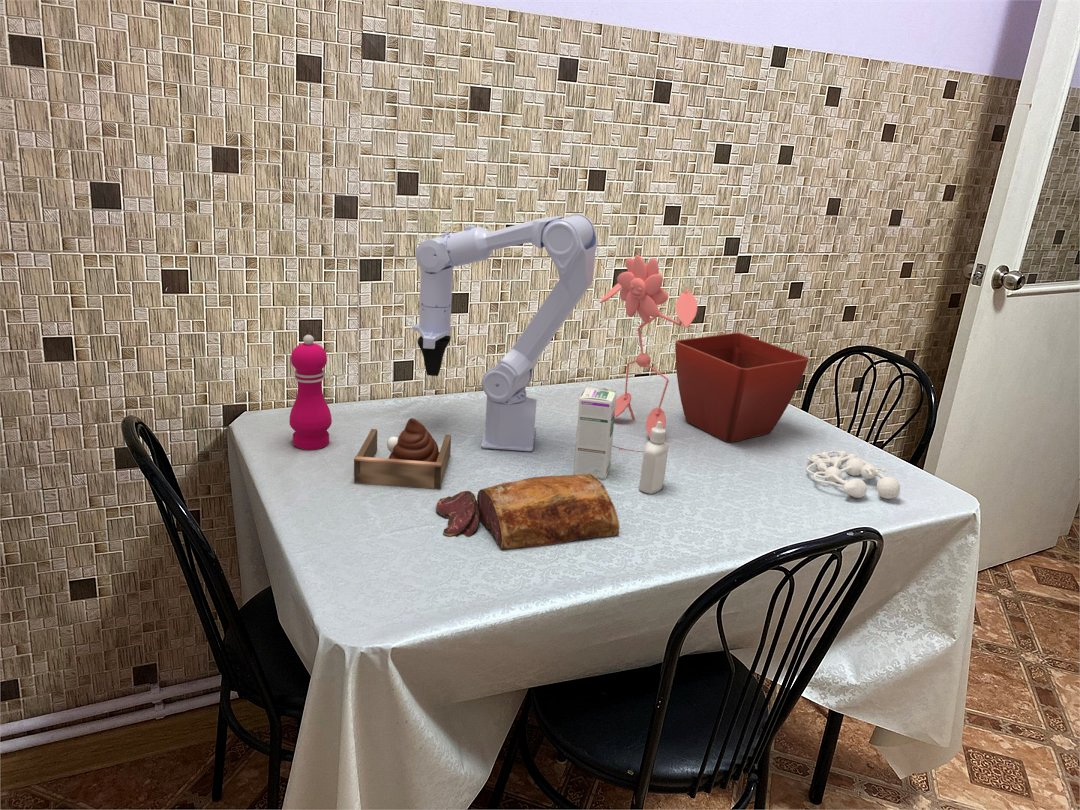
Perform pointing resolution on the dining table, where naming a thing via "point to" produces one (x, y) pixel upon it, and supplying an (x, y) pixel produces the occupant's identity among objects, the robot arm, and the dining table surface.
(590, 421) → the syrup box
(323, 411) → the pepper mill
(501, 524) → the cured meat
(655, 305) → the figurine
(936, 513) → the dining table surface
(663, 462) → the eye dropper bottle
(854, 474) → the tangled rod sculpture
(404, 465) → the frame
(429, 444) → the poop emoji
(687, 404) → the plant pot
